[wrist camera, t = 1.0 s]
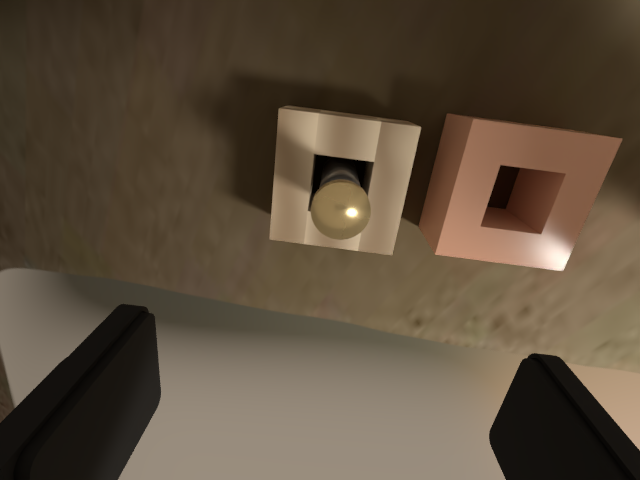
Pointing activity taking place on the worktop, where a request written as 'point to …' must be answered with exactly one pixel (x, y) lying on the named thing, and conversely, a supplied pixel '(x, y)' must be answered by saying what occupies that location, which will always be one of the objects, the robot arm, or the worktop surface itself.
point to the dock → (526, 197)
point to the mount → (345, 142)
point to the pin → (340, 201)
